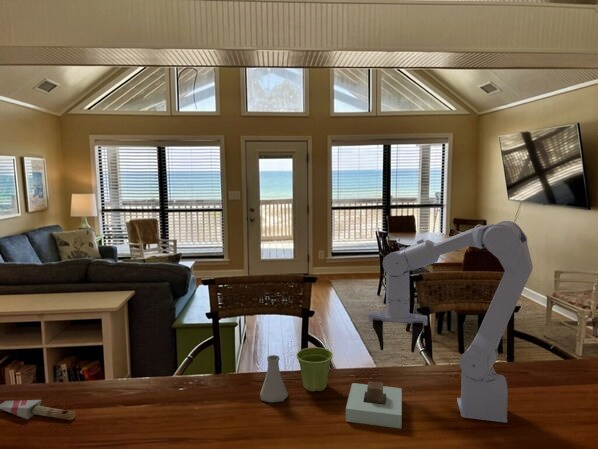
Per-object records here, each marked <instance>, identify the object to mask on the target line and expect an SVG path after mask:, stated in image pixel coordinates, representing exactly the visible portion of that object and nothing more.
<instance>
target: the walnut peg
mask: <svg viewBox="0 0 598 449" xmlns="http://www.w3.org/2000/svg"><path fill="white" fill-rule="evenodd" d="M367 385H368V387H367V403H374V404H383V386H384V382H381V381H371V380H369V381H368V382H367Z"/></svg>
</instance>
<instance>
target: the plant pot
mask: <svg viewBox="0 0 598 449" xmlns="http://www.w3.org/2000/svg"><path fill="white" fill-rule="evenodd" d="M333 355H334V353H333V352H332V351H330V350H329V349H327V348H323V347H316V346H315V347H314V346H313V347H307V348H302V349H301V350H299V351H298V352H296V359H297V361H298V364H299V369H300V372H301V378H302V379H301V380H302V385H303V388H304V389H305V390H307V391H309V392H316V391H318V392H321V391H324V390H325V389H326V388H327V387H328V380H329V370H330V364H331V362H332V361H331V360H332V359H333Z"/></svg>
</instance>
